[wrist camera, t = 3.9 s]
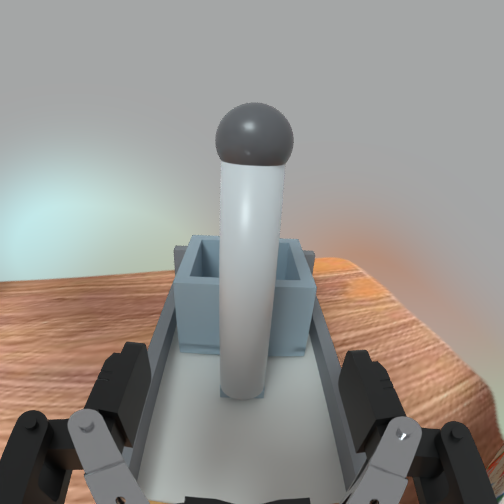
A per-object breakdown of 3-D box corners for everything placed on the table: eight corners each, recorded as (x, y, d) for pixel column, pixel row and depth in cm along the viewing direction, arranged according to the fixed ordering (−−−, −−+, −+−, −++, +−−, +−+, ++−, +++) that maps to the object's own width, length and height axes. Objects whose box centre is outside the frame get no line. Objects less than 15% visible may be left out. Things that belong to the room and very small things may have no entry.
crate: (167, 407, 19) (137, 102, 12) (194, 294, 33) (193, 107, 25) (315, 411, 20) (374, 114, 12) (291, 297, 33) (309, 113, 26)
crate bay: (117, 520, 12) (79, 480, 9) (178, 295, 34) (175, 245, 32) (363, 524, 12) (405, 485, 10) (305, 300, 35) (313, 250, 33)
